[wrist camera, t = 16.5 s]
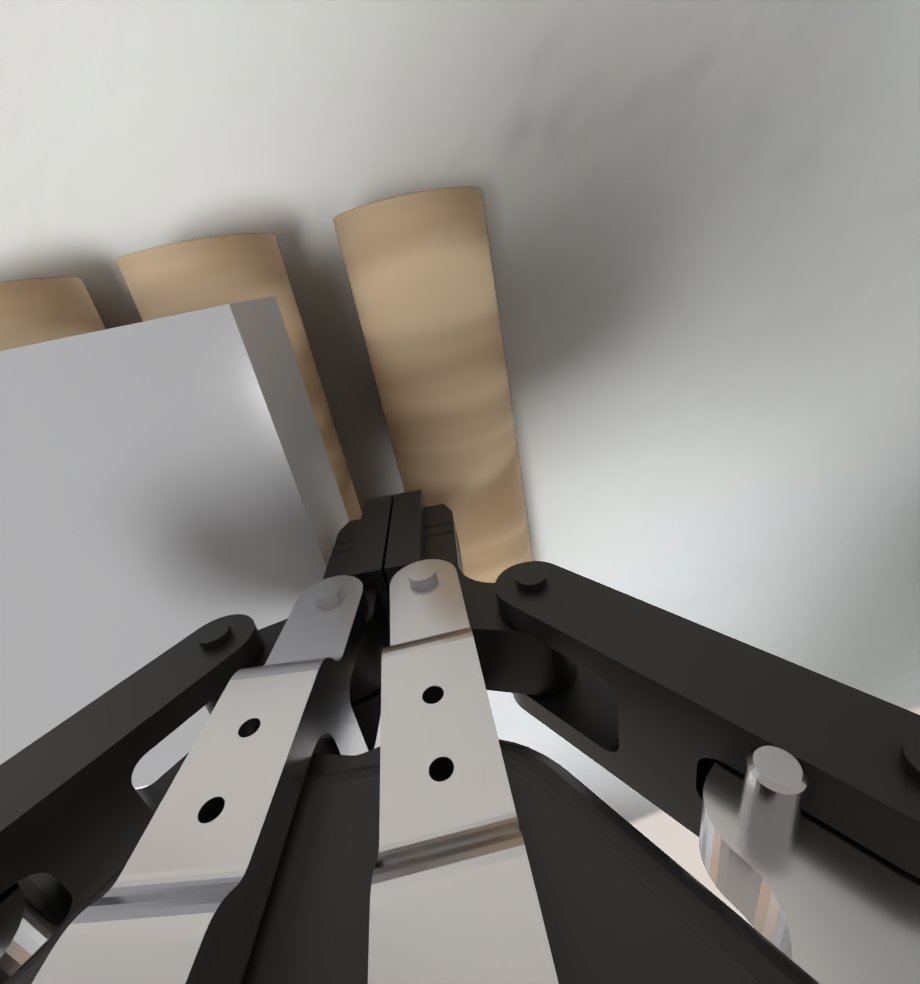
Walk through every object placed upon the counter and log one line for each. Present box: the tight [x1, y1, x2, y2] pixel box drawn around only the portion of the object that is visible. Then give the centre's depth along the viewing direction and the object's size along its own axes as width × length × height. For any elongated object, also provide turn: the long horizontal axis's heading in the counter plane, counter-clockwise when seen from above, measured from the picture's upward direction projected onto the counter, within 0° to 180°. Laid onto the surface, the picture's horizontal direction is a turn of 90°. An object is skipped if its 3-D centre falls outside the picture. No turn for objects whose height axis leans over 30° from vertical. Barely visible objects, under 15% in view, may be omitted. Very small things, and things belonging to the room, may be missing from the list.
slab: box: [0, 296, 349, 787], centre depth 13 cm, size 12×16×3 cm
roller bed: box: [0, 187, 533, 583], centre depth 16 cm, size 15×30×4 cm, turn 101°
